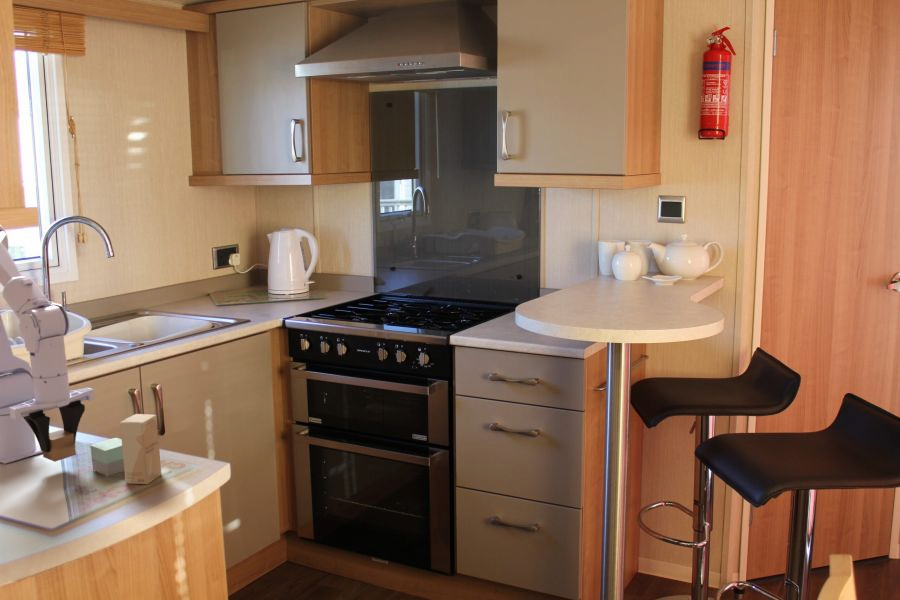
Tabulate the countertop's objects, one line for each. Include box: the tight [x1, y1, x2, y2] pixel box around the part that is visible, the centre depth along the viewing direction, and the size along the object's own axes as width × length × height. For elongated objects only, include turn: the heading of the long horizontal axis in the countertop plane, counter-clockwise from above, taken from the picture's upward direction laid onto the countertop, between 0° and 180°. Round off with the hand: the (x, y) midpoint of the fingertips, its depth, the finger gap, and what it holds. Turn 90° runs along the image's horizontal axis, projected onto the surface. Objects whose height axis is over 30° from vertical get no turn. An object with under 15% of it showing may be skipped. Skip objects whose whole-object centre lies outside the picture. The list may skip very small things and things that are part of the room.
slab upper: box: [89, 437, 123, 464], centre depth 161 cm, size 5×5×2 cm
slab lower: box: [91, 458, 125, 477], centre depth 161 cm, size 5×5×2 cm
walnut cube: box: [42, 429, 77, 463], centre depth 160 cm, size 4×4×4 cm
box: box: [119, 413, 162, 485], centre depth 155 cm, size 5×4×11 cm
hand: (58, 447), depth 160 cm, fingers closed on walnut cube, 4 cm apart
